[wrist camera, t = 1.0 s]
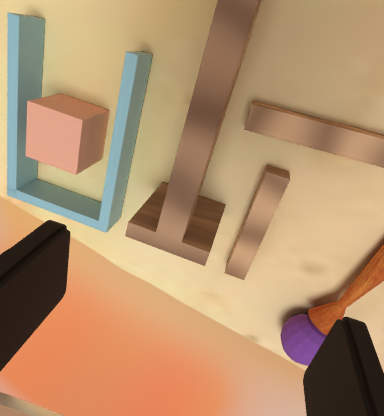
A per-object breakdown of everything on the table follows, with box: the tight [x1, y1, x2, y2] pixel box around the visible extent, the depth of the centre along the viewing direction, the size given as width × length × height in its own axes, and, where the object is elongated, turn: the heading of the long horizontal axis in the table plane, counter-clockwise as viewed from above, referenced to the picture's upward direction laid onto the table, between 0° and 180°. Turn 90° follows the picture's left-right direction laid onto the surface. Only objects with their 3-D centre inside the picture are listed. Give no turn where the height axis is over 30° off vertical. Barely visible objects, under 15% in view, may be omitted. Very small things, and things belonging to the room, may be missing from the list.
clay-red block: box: [26, 94, 110, 175], centre depth 36 cm, size 6×6×6 cm
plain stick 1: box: [225, 165, 290, 280], centre depth 38 cm, size 14×2×2 cm, turn 164°
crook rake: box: [125, 0, 261, 266], centre depth 29 cm, size 28×8×10 cm, turn 164°
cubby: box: [7, 13, 153, 233], centre depth 37 cm, size 20×13×4 cm, turn 164°
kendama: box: [281, 244, 384, 366], centre depth 39 cm, size 6×6×20 cm
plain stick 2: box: [244, 101, 384, 168], centre depth 32 cm, size 14×2×2 cm, turn 77°
